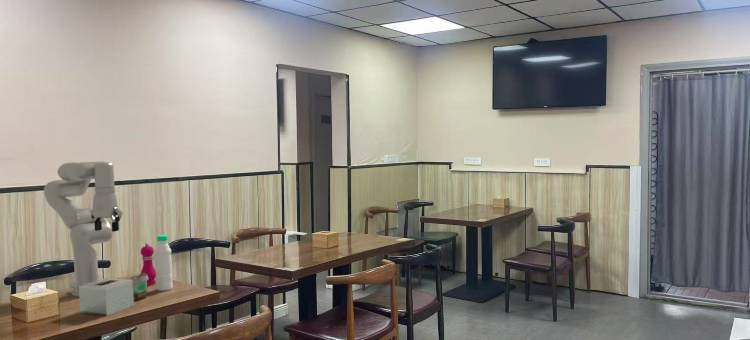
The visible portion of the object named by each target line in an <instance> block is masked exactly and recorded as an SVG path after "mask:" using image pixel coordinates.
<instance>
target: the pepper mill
mask: <svg viewBox="0 0 750 340" xmlns="http://www.w3.org/2000/svg"><path fill="white" fill-rule="evenodd" d="M154 249H155V248H153V246H151V245H150V243H149V242H146V243H144V246H143V247H142V248H140V255H141V261H142V268H141V270H140V273H139V274H140V275H141V273H146V274H147V275H148V278H149V279H148V280H147V287H148V285H149V286H154V285H156V284H157V281H156V268H155V267H154V263H153V259H154V254H155V250H154ZM140 275H139V276H140ZM153 284H154V285H153Z"/></svg>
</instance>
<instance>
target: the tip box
mask: <svg viewBox="0 0 750 340" xmlns="http://www.w3.org/2000/svg"><path fill="white" fill-rule="evenodd" d="M128 279H129V278H117V277H116V278H115V277H113V278H112V277H106V278H105V277H104V278H101V279H98V280H97V281H94V282H90V283H87V284H83V285H80V286H79V295H80V297H79V311H80V313H81V314H88V315H96V316H105V317H109V316H110V315H113V314H116V313H118V312H121V311H124V310H127V309H131V308H132V307H135V305H134V302H135V301H134V298H133V280H128Z"/></svg>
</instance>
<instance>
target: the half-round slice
mask: <svg viewBox="0 0 750 340" xmlns="http://www.w3.org/2000/svg"><path fill="white" fill-rule="evenodd" d="M140 274H141V275H137V276H133V277H131V278H127V279H128V280H133V298H134V302H140V301H143V300H145V299H147V289H148V288H147V287H148V286H147V280H148V279H149V278H148V275H147V274H146V273H141V272H140Z"/></svg>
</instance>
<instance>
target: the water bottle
mask: <svg viewBox="0 0 750 340" xmlns="http://www.w3.org/2000/svg"><path fill="white" fill-rule="evenodd" d="M168 236H169V235H166V234H162V235H157V237H156V241H157V246H156V248H155V250H154V254H155V256H154V257H155V259H154V262H155V271H156V277H155V280H156V283H155V285H156V290H157V291H159V292H164V291H165V292H167V291H170V290H172V289H173V287H174V285H173V272H172V270H173V264H172V263H173V261H172V249H171V248H170V247H171V246H170V245H169V244H168V240H169V237H168Z"/></svg>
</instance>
